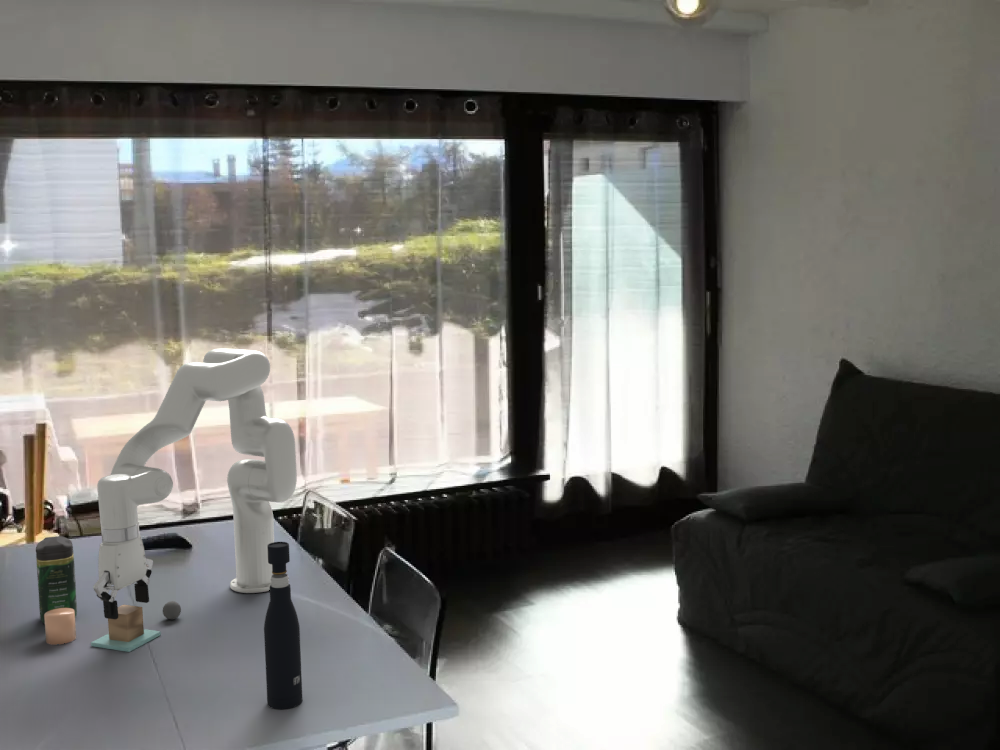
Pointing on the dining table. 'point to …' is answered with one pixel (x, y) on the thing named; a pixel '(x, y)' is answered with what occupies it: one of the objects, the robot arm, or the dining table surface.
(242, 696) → the dining table surface
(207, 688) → the dining table surface
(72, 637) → the beige rounded cylinder
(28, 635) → the dining table surface
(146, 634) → the coaster
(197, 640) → the dining table surface
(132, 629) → the walnut block
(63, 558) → the coffee jar
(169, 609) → the rubber ball
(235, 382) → the robot arm
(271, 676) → the insulated water bottle
